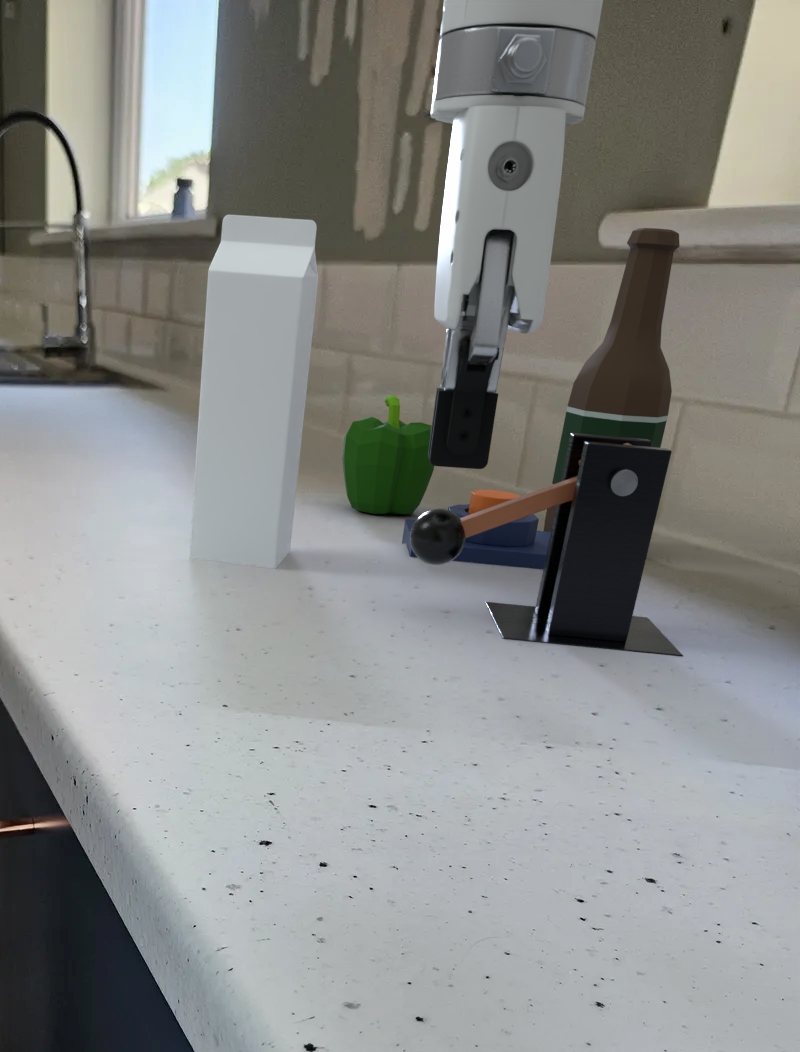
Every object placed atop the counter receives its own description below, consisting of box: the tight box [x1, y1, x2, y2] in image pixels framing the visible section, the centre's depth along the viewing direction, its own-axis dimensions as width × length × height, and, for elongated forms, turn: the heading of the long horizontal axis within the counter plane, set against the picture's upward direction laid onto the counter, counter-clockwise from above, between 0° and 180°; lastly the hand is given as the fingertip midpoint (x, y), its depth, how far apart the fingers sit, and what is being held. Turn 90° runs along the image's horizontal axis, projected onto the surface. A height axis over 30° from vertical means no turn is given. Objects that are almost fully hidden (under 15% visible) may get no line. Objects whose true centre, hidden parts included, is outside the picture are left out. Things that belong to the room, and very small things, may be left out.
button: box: [468, 489, 521, 514], centre depth 84 cm, size 4×4×2 cm
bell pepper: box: [341, 394, 435, 516], centre depth 101 cm, size 8×8×10 cm
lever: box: [410, 443, 631, 566], centre depth 64 cm, size 13×3×3 cm, turn 84°
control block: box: [401, 503, 551, 570], centre depth 85 cm, size 12×9×4 cm
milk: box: [188, 214, 319, 570], centre depth 74 cm, size 6×6×22 cm
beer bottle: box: [543, 227, 680, 532], centre depth 90 cm, size 8×8×24 cm
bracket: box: [485, 433, 684, 658], centre depth 65 cm, size 10×8×12 cm
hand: (456, 464), depth 64 cm, fingers closed
